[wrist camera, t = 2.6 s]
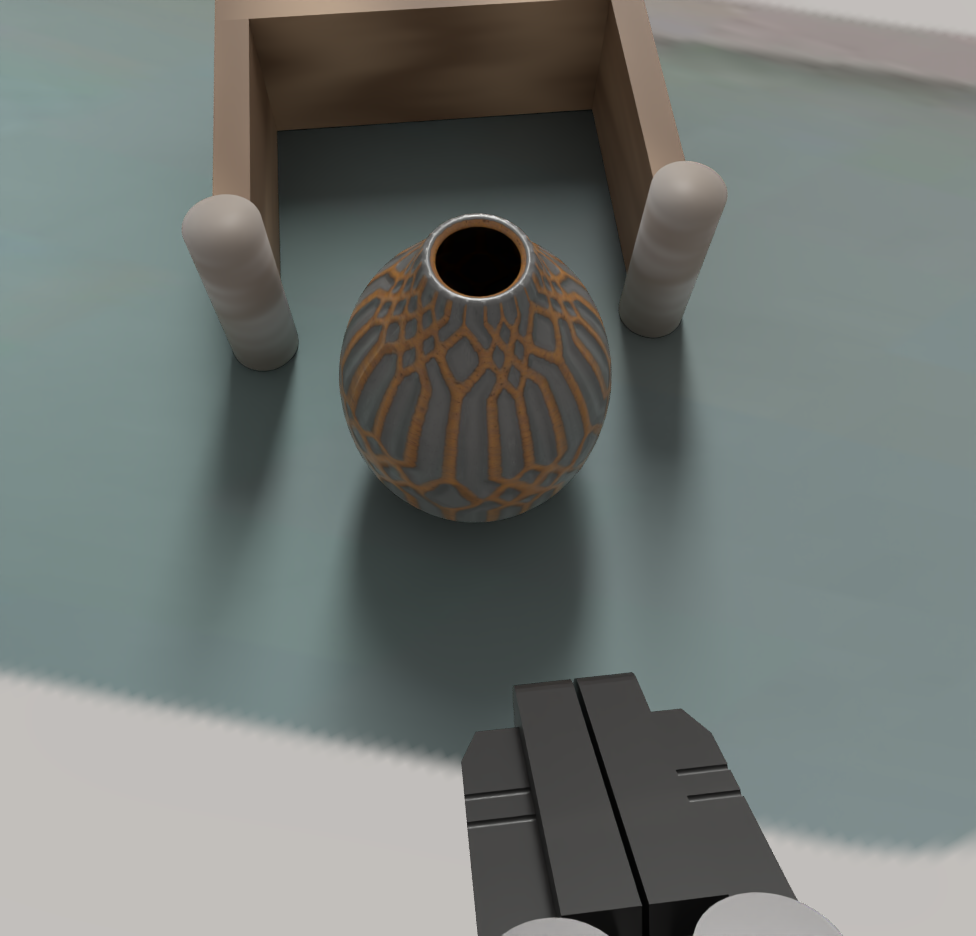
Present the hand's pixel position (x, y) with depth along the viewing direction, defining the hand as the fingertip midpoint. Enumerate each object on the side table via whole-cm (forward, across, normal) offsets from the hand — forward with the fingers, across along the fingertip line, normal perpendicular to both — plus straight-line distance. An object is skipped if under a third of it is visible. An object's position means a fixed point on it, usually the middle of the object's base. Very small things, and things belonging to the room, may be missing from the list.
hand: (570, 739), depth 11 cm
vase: (+16, 0, +2) cm, 16 cm away
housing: (+22, 0, -5) cm, 23 cm away
